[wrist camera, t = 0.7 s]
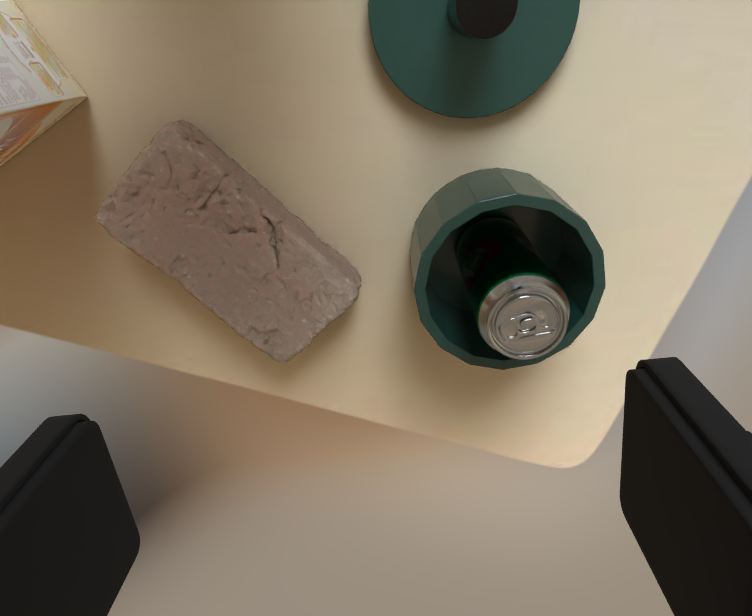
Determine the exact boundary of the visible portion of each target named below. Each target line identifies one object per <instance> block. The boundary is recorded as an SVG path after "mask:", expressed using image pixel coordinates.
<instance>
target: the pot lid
mask: <svg viewBox="0 0 752 616" xmlns="http://www.w3.org/2000/svg"><path fill="white" fill-rule="evenodd" d="M368 5H369V23H370V30H371V36H372V39H373V43H374V47H375V50H376V52H377V54H378V57H379V59H380V62H381V63H382V65H383V67H384V69H385V71H386V72H387V74H388V75H389V77H390V78H391V79H392V81H393V82H394V83H395V85H396V86H397V87H398V88H399V89H400V90H401V91H402V92H403V93H404V94H405V95H407V96H408V97H409V98H410V99H412V100H413V101H414V102H416V103H417V104H419V105H421V106H423V107H424V108H426V109H428V110H431V111H433V112H436V113H438V114H442V115H446V116H450V117H459V118H476V117H483V116H489V115H492V114H495V113H499V112H502V111H504V110H506V109H509V108H511V107H513V106H515V105H516V104H518V103H520V102H521V101H523V100H525V99H526V98H527V97H529V96H530V95H531V94H533V93H534V92H535V91H536V90H537V89H538V88H539V87H540V86H541V85H542V84H543V83H544V82H545V81H546V80H547V79H548V78H549V77H550V75H551V74H552V73H553V72H554V70H555V69H556V68H557V66H558V64H559V63H560V61H561V60H562V58H563V56H564V54H565V52H566V50H567V48H568V46H569V44H570V42H571V39H572V36H573V33H574V30H575V27H576V22H577V18H578V14H579V5H580V0H369V3H368Z"/></svg>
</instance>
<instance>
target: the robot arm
mask: <svg viewBox="0 0 752 616" xmlns="http://www.w3.org/2000/svg"><path fill="white" fill-rule="evenodd" d="M620 502H621V507H622V511H623V514H624V516H625V518H626V520H627V522H628V524H629V526H630V528H631V530H632V532H633V534H634V536H635V538H636V540H637V542H638V544H639V546H640V548H641V550H642V552H643V554H644V556H645V558H646V560H647V562H648V564H649V566H650V568H651V570H652V572H653V574H654V576H655V578H656V580H657V582H658V584H659V586H660V588H661V590H662V592H663V594H664V596H665V598H666V600H667V602H668V604H669V606H670V608H671V610H672V612H673V614H674V616H752V433H750V432H748V431H746V430H745V429H744V428H743V427H742V426H741V425H740V424H739V423H738V422H737V421H736V420H735V418H734V417H733V416H732V415H731V414H730V413H729V412H728V411H727V410H726V409H725V408H724V407H723V406H722V405H721V404H720V402H719V401H718V400H717V399H716V398H715V397H714V396H713V395H712V394H711V393H710V392H709V391H708V390H707V389H706V387H705V386H704V385H703V384H702V383H701V382H700V381H699V380H698V379H697V378H696V377H695V376H694V375H693V374H692V373H691V372H690V370H689V369H688V368H687V367H686V366H685V365H684V364H683V363H682V362H681V361H680V360H679V359H678V358H676V357H669V358H659V359H648V360H640V361H639V362H638V364H637V366H636V369H633V370H629V371H628V372H627V374H626V384H625V404H624V423H623V442H622V461H621V480H620ZM139 547H140V536H139V532H138V529H137V527H136V524H135V521H134V519H133V516H132V513H131V510H130V508H129V505H128V502H127V500H126V497H125V494H124V492H123V489H122V486H121V484H120V481H119V478H118V475H117V473H116V470H115V467H114V465H113V462H112V459H111V457H110V454H109V451H108V448H107V446H106V443H105V440H104V438H103V435H102V432H101V430H100V427H99V425H98V424H97V423H96V422H94V421H90V420H89V418H88V417H87V416H86V415H83V414H74V415H65V416H54V417H49V418H47V419H46V420H45V421H44V422H43V423H42V424H41V425H40V426H39V427H38V428H37V429H36V430H35V431H34V432H33V433H32V435H31V436H30V437H29V438H28V439H27V440H26V441H25V442H24V443H23V444H22V445H21V446H20V447H19V449H18V450H17V451H16V452H15V453H14V454H13V455H12V456H11V457H10V458H9V459H8V460H7V461H6V463H4V465H3V466H2V467H1V468H0V616H107V614H108V613H109V611H110V608H111V607H112V604H113V602H114V600H115V598H116V597H117V595H118V593H119V590H120V589H121V586H122V585H123V583H124V580H125V579H126V577H127V574H128V573H129V570H130V568H131V567H132V564H133V563H134V561H135V559H136V556H137V554H138V551H139Z"/></svg>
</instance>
